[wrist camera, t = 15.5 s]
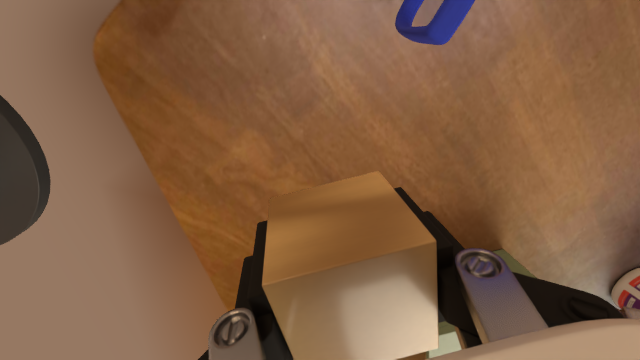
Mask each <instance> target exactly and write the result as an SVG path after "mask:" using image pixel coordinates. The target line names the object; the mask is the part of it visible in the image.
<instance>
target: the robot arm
mask: <svg viewBox="0 0 640 360" xmlns="http://www.w3.org/2000/svg"><path fill="white" fill-rule="evenodd" d="M394 190H395V191H396V192H397V194H398V195H399V196H400V197H401V198H402V200H403V201H404V202H405V203H406V204H407V206H408V207H409V208H410V209H411V211H412V212H413V213H414V214H415V215H416V217H417V218H418V219H419V220H420V221H421V223H422V224H423V225H424V226H425V227H426V229H427V230H428V231H429V232H430V233H431V235H432V236H433V237H434V238H435V240H436V248H437V290H438V323H441V322H444V321H446V322H447V323H449V324H451V325H454V327H455V331H456V334H457V337H458V340H459V343H460V346H461V349H462V350H459V351H455V352H452V353H448V354H444V355H440V356H436V357H432V358H429V359H425V360H640V309H635V308H630V307H625V306H623V307H622V310H619V309H616V308H615V307H614V306H613V305H611V304H610V303H609V302H607V301H605V300H603V299H602V298H600V297H598V296H596V295H593V294H590V293H587V292H584V291H580V290H577V289H573V288H570V287H566V286H562V285H559V284H555V283H552V282H548V281H544V280H541V279H537V278H534V277H530V276H526V275H523V274H519V273H516V272H512V271H511V270H510V268H509V267H508V265H507V264H506V262H505V261H504V260H503V259H502V258H501V257H500V256H498V255H497V254H495V253H494V252H491V251H489V250H485V249H481V248H469V249H464V248H463V247H462V246H461V244H460V243H459V242H458V241H457V240H456V239H455V238H454V237H453V236H452V235H451V234H450V233H449V232H448V231H447V229H446V228H445V227H444V226H443V225H442V224H441V223H440V222H439V221H438V220H437V219H436V218H435V217H434V216H433V215H432V213H430V212H429V211H426V212H423V211H422V210H421V209H420V208H419V207H418V206H417V205H416V203H415V202H414V201H413V200H412V199H411V198H410V197H409V196H408V195H407V193H406V192H405V191H404V190H403V189H402V188H401V187H398V188H395V189H394ZM267 222H268V220H267V221H263V222H259V223H258V224H257V231H256V238H255V245H254V252H253V256H249V257H246V258H245V259H244V262H243V268H242V273H241V278H240V284H239V289H238V294H237V300H236V305H235V309H233V310H230V311H228V312H227V313H225V314H224V315H222V316H221V317H220V318H219V319H218V320H217V321H216V323H215V324H214V325H213V327H212V329H211V331H210V334H209V349H208V350H207V351H206V352H205V353H204V354H203V355H202V356H201V357H200V358H199V359H198V360H293V357H292V354H291V352H290V350H289V347H288V345H287V343H286V341H285V338H284V336H283V334H282V331H281V329H280V327H279V324H278V322H277V320H276V317H275V315H274V313H273V310H272V308H271V306H270V303H269V301H268V299H267V296H266V294H265V292H264V289H263V287H262V278H263V267H264V255H265V244H266V233H267Z"/></svg>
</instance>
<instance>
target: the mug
mask: <svg viewBox="0 0 640 360" xmlns="http://www.w3.org/2000/svg"><path fill="white" fill-rule="evenodd" d="M423 1H424V0H404V2H403V4H402V5H401V7H400V9H399V12H398V14H397V17H396V23H395V25H396V29H397V30H398V32H399V33H400V34H401V35H403V36H404V37H406V38H408V39H410V40H412V41H415V42H419V43H425V44H434V45H442V44H445V43H447V42H448V41H449V40H450V38H451V37H452V35H453V34H454V33H455V31H456V30H457V28H458V27H459V25H460V24H461V22H462V21H463V19H464V18H465V16H466V14H467V13H468V11H469V9H470V8H471V6H472V4H473V3H474V1H475V0H444V1H443V3H442V5H441V6H440V8H439V9H438V11H437V13H436V14H435V16H434V18H433V19H432V21H431V22H430V23H429V24H428V25H427V26H422V27H411V26H412V22H413V19H414V17H415V15H416V12H417V10H418V9H419V7H420V6H421V4H422V2H423Z"/></svg>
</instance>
